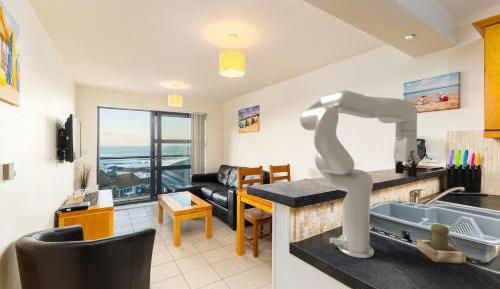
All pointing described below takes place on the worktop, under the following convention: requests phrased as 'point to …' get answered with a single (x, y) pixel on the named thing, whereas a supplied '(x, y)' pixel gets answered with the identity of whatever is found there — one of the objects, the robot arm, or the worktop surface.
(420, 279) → the worktop surface
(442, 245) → the cork
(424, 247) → the socket block
